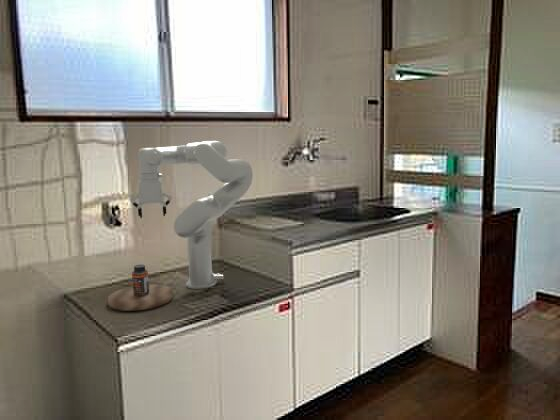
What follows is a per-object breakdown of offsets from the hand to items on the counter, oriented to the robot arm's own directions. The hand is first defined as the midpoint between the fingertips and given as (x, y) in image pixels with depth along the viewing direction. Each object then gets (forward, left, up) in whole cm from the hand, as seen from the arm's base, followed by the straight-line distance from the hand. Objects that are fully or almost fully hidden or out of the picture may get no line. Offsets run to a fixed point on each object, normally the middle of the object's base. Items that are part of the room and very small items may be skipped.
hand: (152, 216), depth 202 cm
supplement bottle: (+6, +26, -26) cm, 37 cm away
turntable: (+6, +26, -28) cm, 39 cm away
